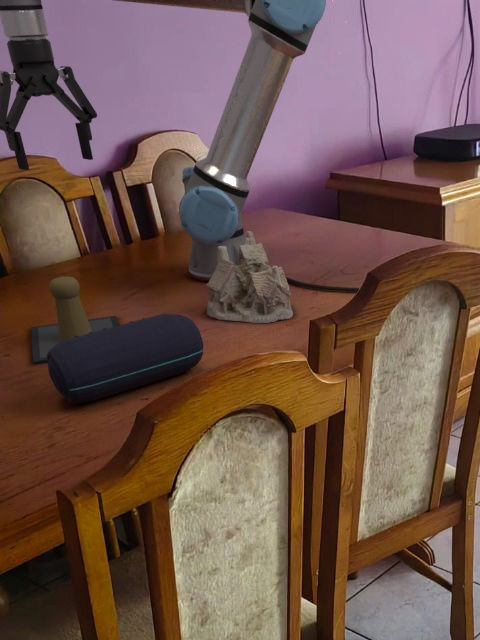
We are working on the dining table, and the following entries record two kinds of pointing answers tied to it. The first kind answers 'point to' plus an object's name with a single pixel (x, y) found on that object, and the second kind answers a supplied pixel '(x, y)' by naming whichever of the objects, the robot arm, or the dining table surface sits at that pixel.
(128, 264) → the dining table surface
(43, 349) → the tablet computer
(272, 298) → the ceramic cottage
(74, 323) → the cork
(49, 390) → the dining table surface
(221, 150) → the robot arm
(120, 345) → the portable speaker
